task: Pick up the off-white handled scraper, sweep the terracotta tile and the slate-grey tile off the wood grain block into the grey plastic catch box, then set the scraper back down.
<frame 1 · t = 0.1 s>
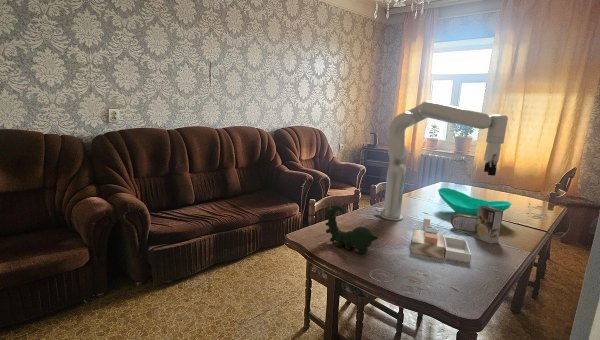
hand: (489, 173, 158), 31 cm above the table, tool pointing down, fingers open, 9 cm apart
coffee box: (485, 239, 154), on the table
tile terracotta: (430, 240, 136), point 5 cm above the table, touching wood grain block
tile slate: (430, 235, 143), point 5 cm above the table, touching wood grain block
tin: (465, 230, 165), on the table
toy figurine: (349, 248, 137), on the table
scraper: (424, 234, 157), on the table
catch box: (455, 253, 137), on the table
table top decor: (468, 217, 187), on the table
wood grain block: (426, 248, 141), on the table
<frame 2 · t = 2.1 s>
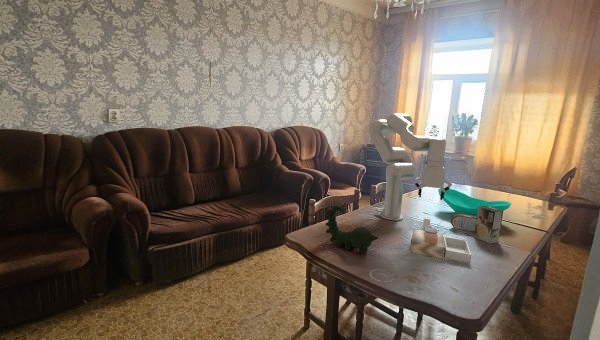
hand: (430, 198, 153), 19 cm above the table, tool pointing down, fingers open, 9 cm apart
nothing on the table moved.
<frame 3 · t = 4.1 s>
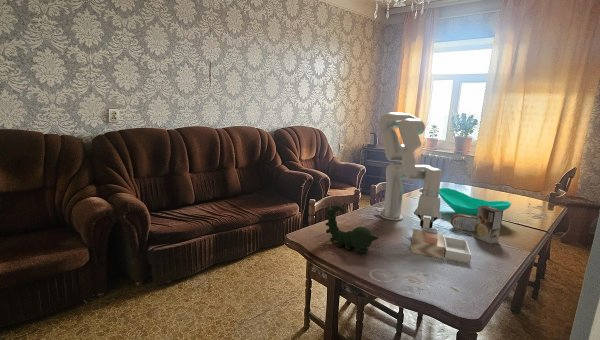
hand: (425, 227, 157), 3 cm above the table, tool pointing down, fingers closed on scraper, 3 cm apart
scraper: (424, 233, 157), on the table, touching gripper
everything else where it was.
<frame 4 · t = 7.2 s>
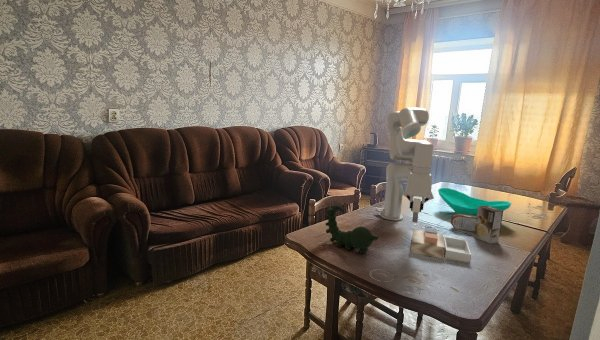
hand: (415, 210, 139), 17 cm above the table, tool pointing down, fingers closed on scraper, 3 cm apart
scraper: (415, 216, 140), point 14 cm above the table, touching gripper
everything else where it was.
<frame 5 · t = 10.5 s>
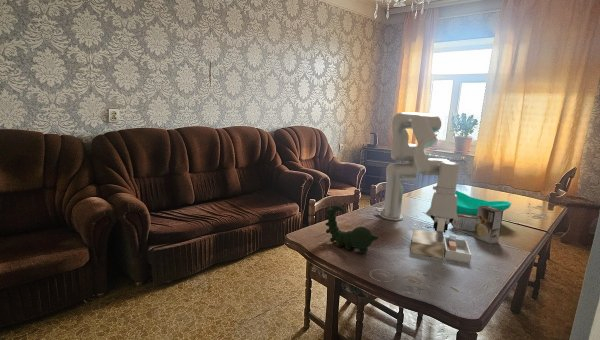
hand: (439, 230, 137), 9 cm above the table, tool pointing down, fingers closed on scraper, 2 cm apart
tile terracotta: (448, 248, 134), point 3 cm above the table, tilted 88°, touching catch box
tile slate: (448, 241, 140), point 3 cm above the table, tilted 97°, touching catch box
scraper: (439, 235, 138), point 7 cm above the table, touching gripper
everything else where it was.
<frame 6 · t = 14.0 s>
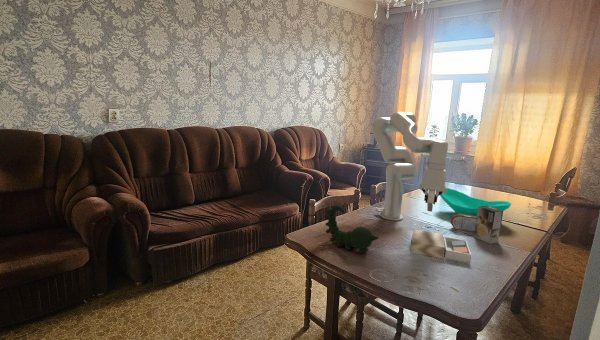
hand: (430, 202, 153), 17 cm above the table, tool pointing down, fingers closed on scraper, 3 cm apart
tile terracotta: (460, 249, 132), point 4 cm above the table, tilted 166°, touching catch box
tile slate: (458, 242, 139), point 4 cm above the table, tilted 164°, touching catch box
scraper: (429, 207, 153), point 15 cm above the table, touching gripper
everything else where it was.
when the fingers open (5 cm above the table, at t = 17.2 s): scraper drops 3 cm, on the table.
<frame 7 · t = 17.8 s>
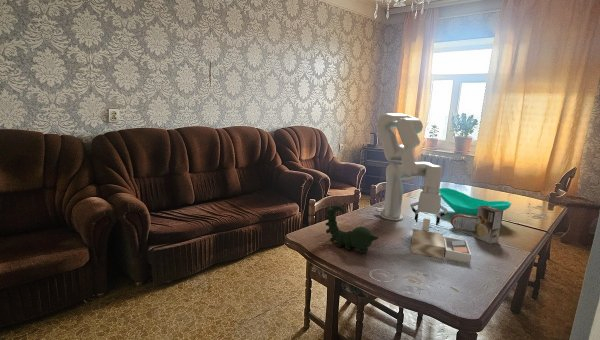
hand: (426, 223, 156), 6 cm above the table, tool pointing down, fingers open, 9 cm apart
scraper: (424, 234, 157), on the table
everything else where it was.
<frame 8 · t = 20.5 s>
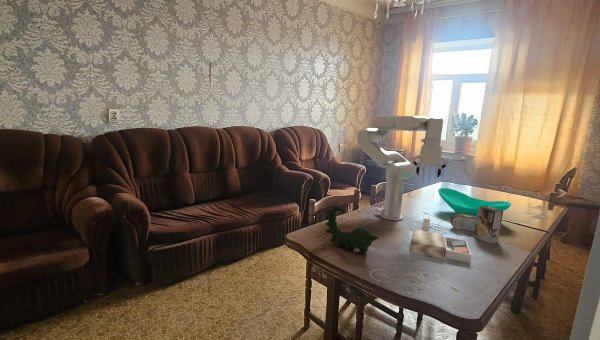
hand: (427, 175, 160), 28 cm above the table, tool pointing down, fingers open, 9 cm apart
nothing on the table moved.
at the end: tile terracotta inside the target area (3.7 cm from its centre), point 3.6 cm above the table; tile slate inside the target area (3.8 cm from its centre), point 3.7 cm above the table; the gripper is holding nothing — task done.
